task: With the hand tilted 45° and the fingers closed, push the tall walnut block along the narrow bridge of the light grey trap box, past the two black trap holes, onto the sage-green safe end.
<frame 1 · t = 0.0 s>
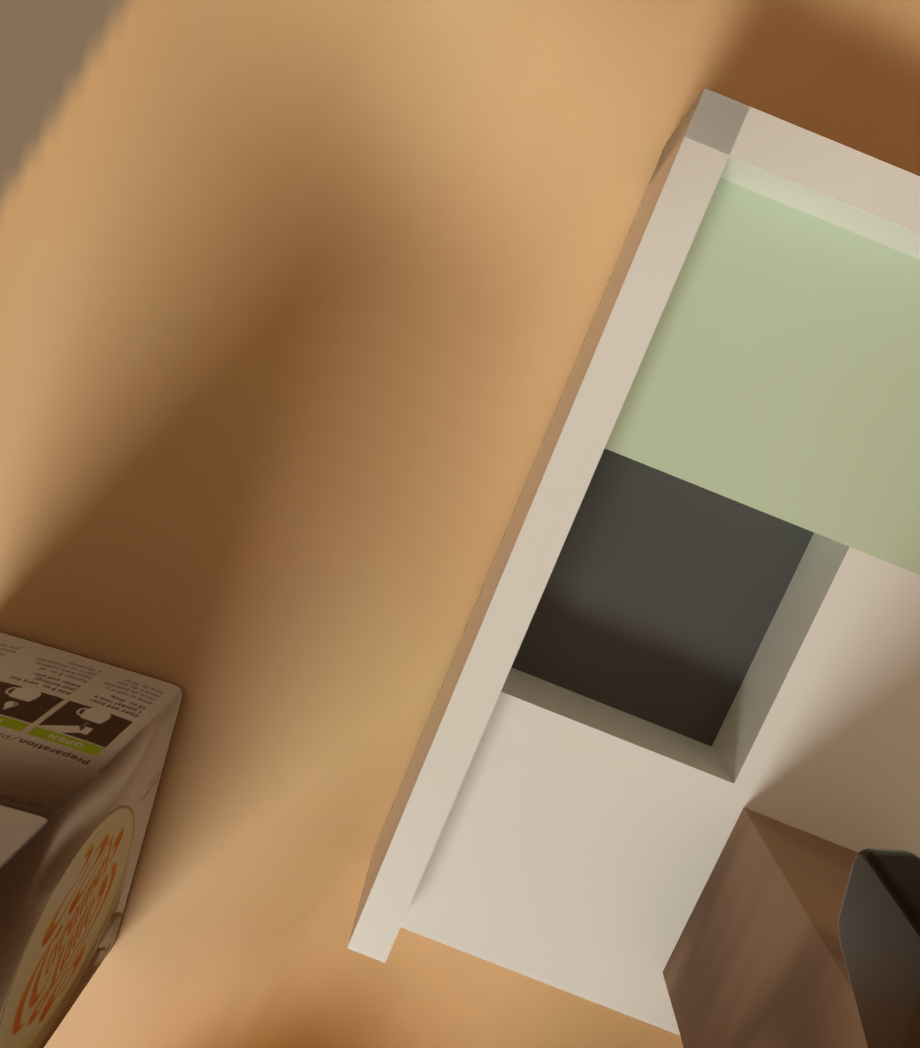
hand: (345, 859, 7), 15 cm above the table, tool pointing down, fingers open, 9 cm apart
trap box: (863, 670, 23), on the table
block: (792, 926, 21), point 2 cm above the table, touching trap box
coffee box: (52, 792, 25), on the table
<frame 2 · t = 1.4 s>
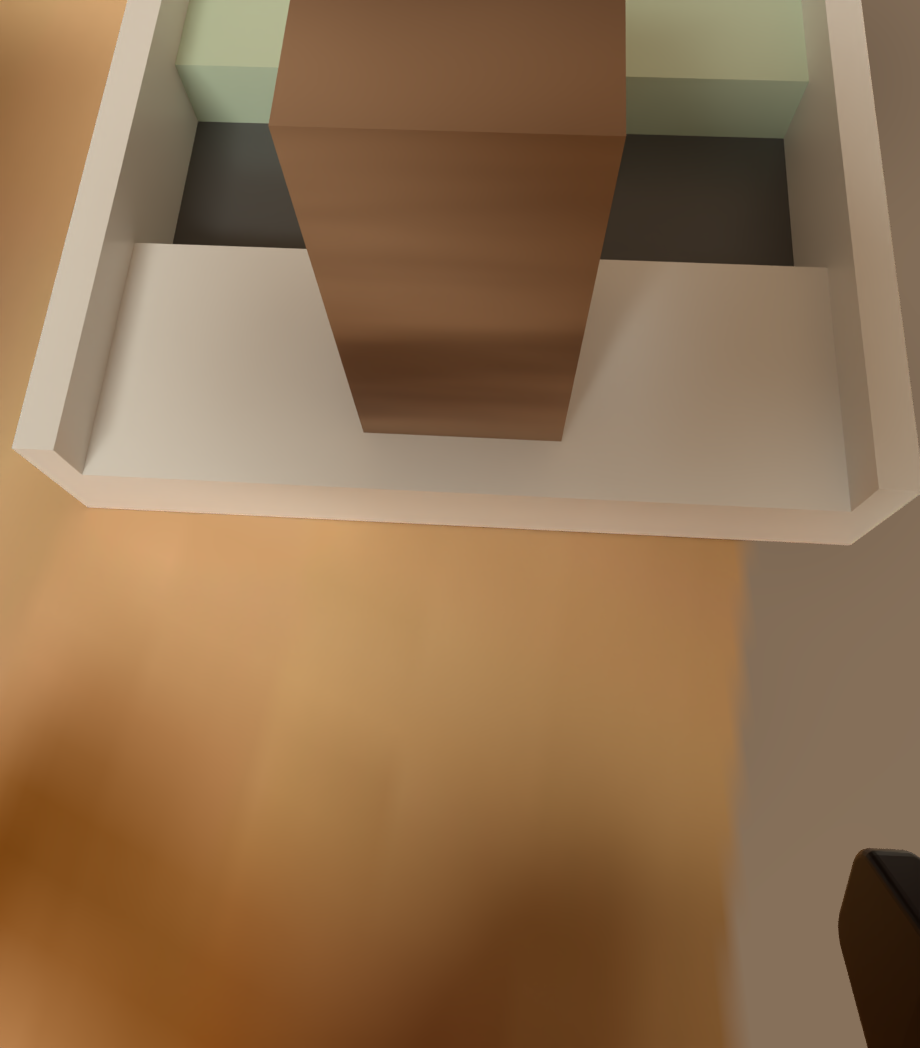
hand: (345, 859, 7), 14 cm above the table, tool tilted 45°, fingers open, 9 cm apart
trap box: (481, 212, 26), on the table
block: (467, 350, 22), point 2 cm above the table, touching trap box
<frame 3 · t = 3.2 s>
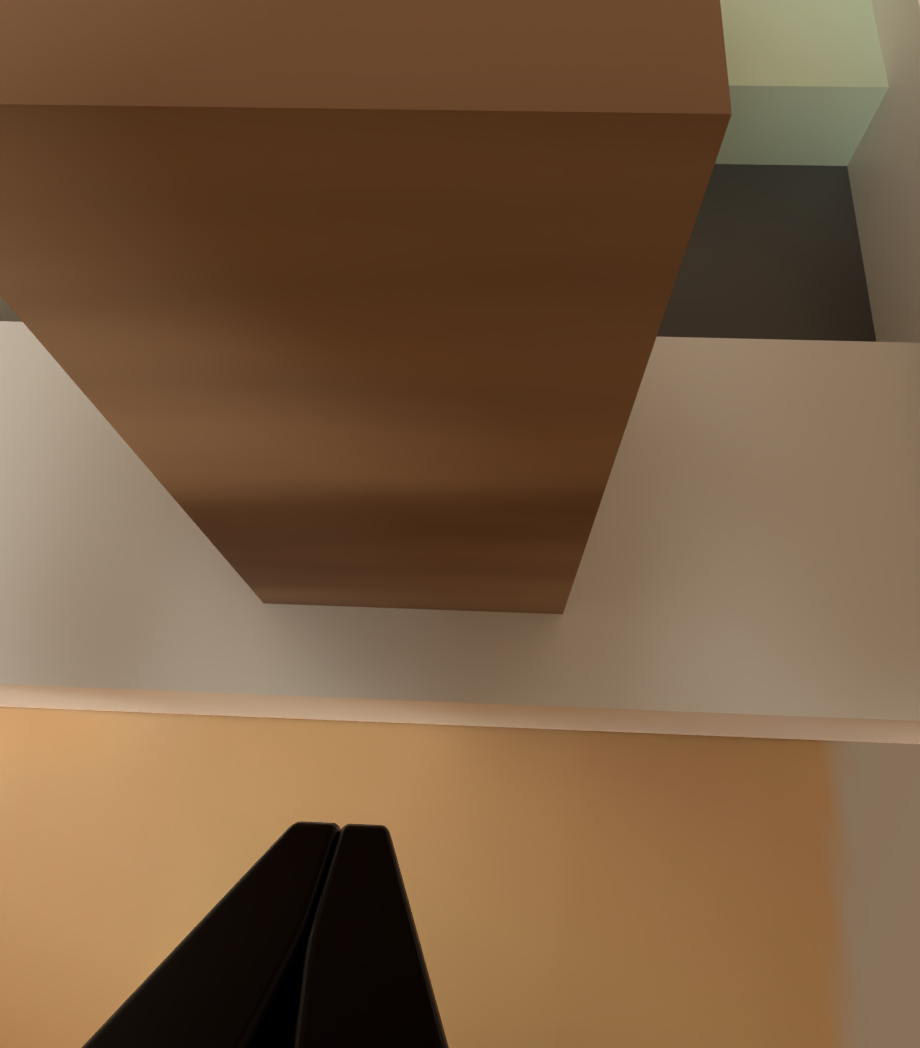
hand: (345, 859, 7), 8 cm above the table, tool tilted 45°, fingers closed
trap box: (446, 267, 20), on the table
block: (421, 472, 15), point 2 cm above the table, touching trap box
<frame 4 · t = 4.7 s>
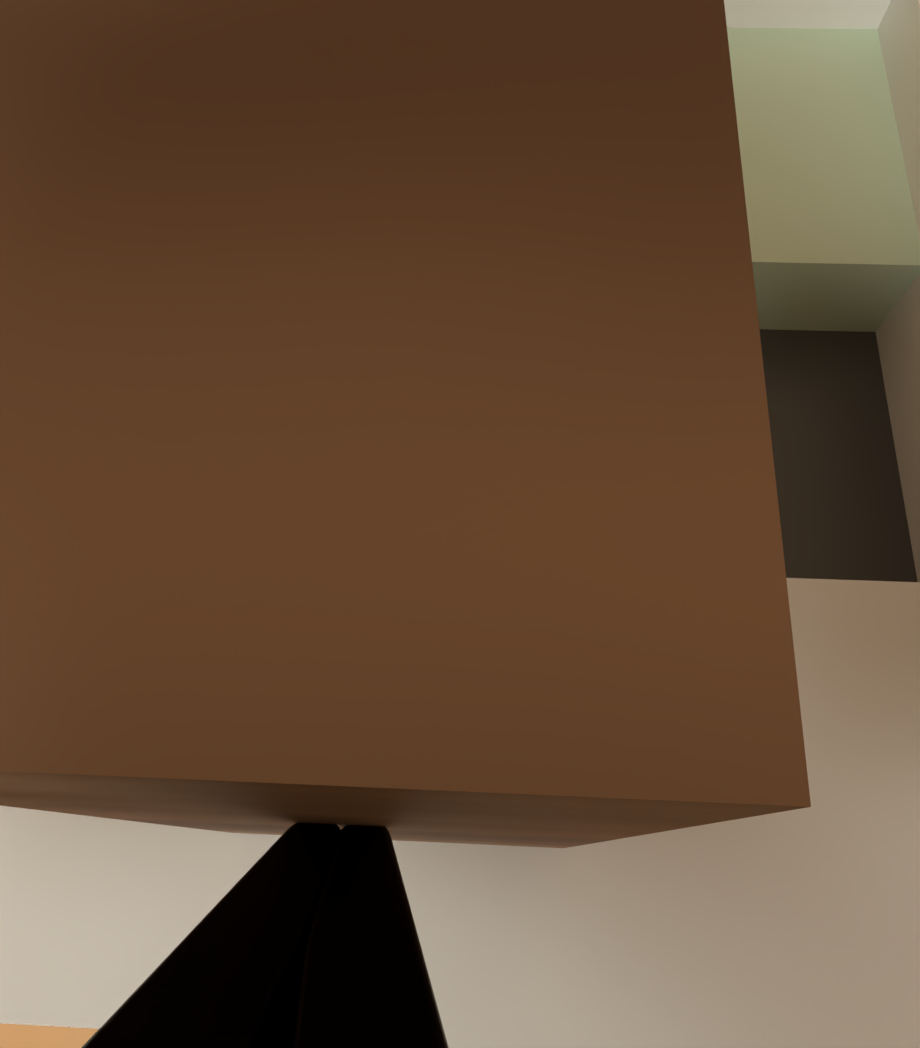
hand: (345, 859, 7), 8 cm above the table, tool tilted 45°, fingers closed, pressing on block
trap box: (434, 448, 18), on the table
block: (407, 674, 13), point 3 cm above the table, touching gripper
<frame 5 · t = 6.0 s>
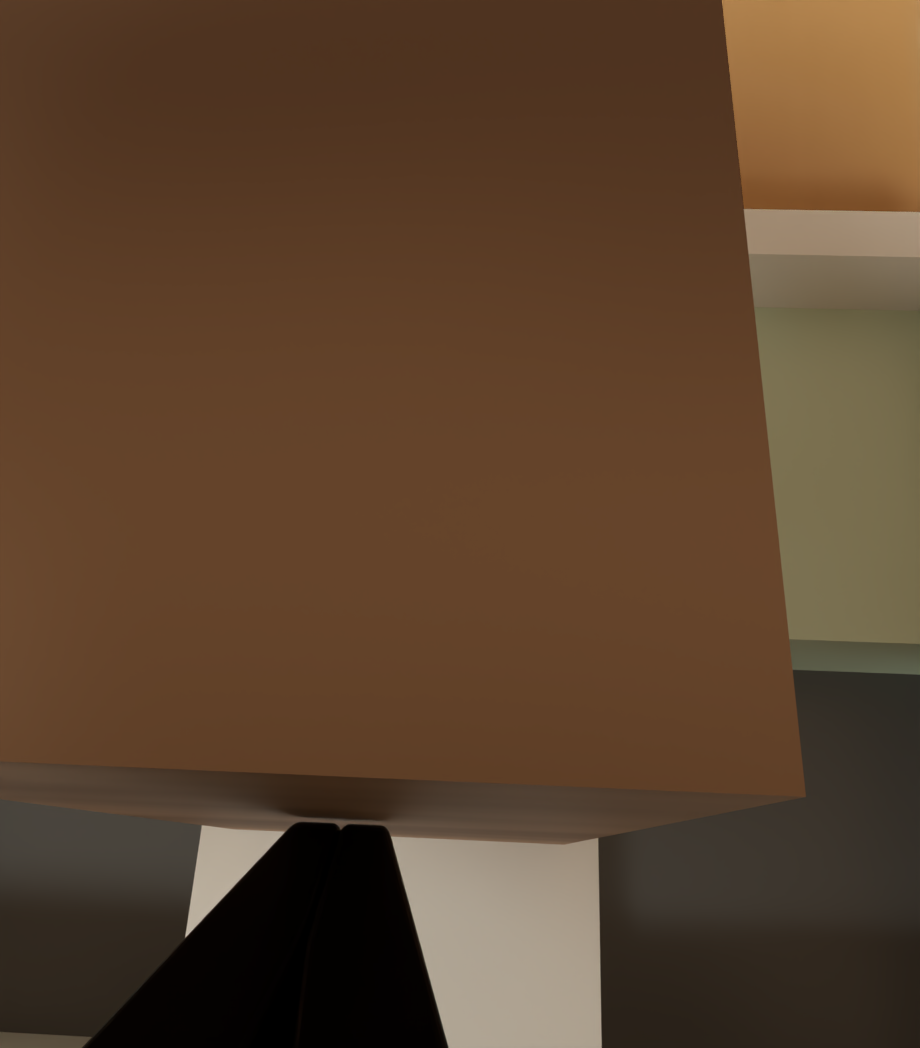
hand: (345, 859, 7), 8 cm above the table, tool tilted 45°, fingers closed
trap box: (412, 823, 15), on the table
block: (408, 672, 13), point 3 cm above the table
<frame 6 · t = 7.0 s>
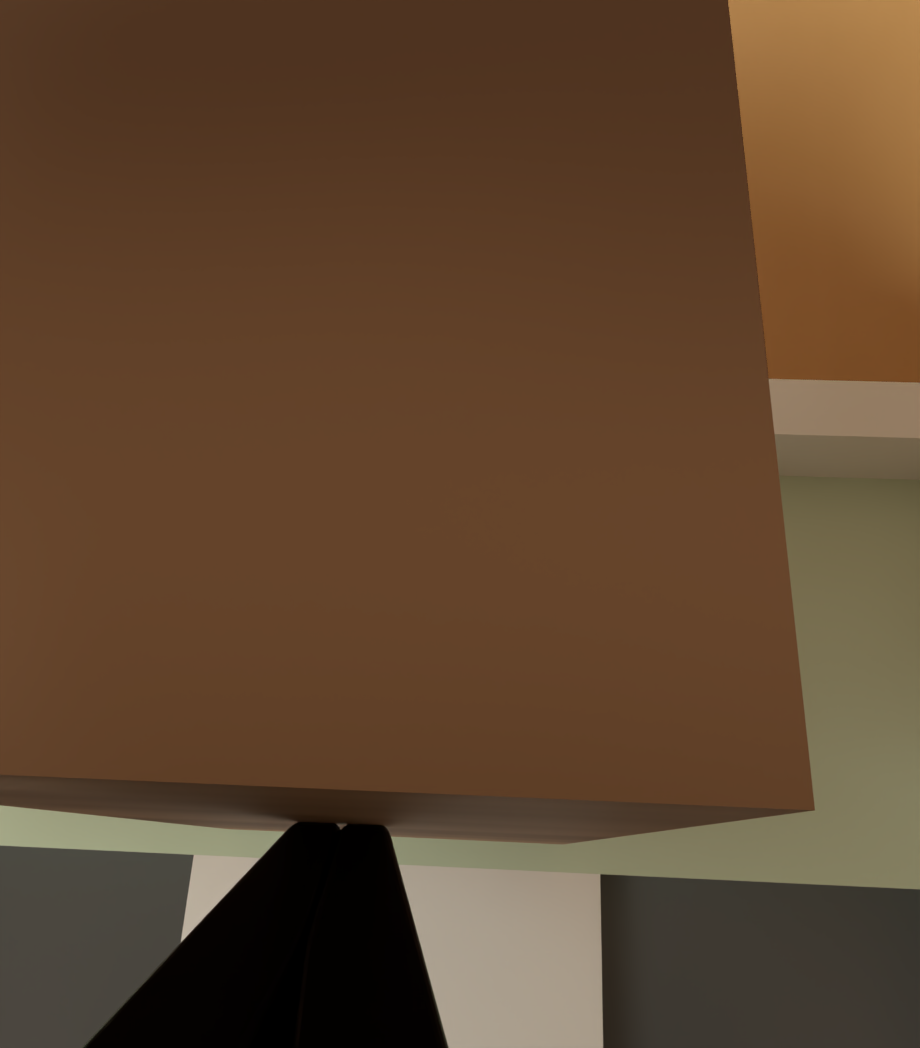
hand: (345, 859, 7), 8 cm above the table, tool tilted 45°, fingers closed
block: (405, 669, 13), point 2 cm above the table, touching trap box
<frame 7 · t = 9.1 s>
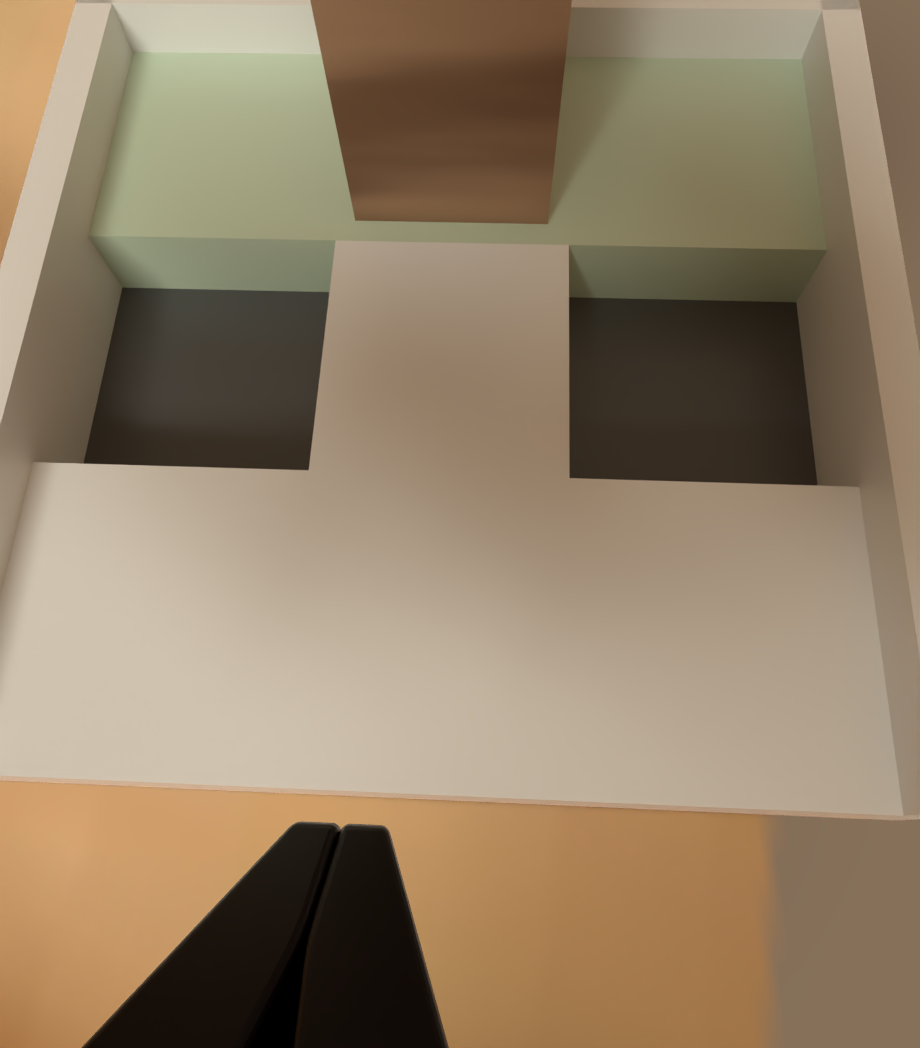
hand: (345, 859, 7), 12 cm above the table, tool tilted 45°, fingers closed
trap box: (449, 394, 23), on the table
block: (455, 147, 23), point 2 cm above the table, touching trap box
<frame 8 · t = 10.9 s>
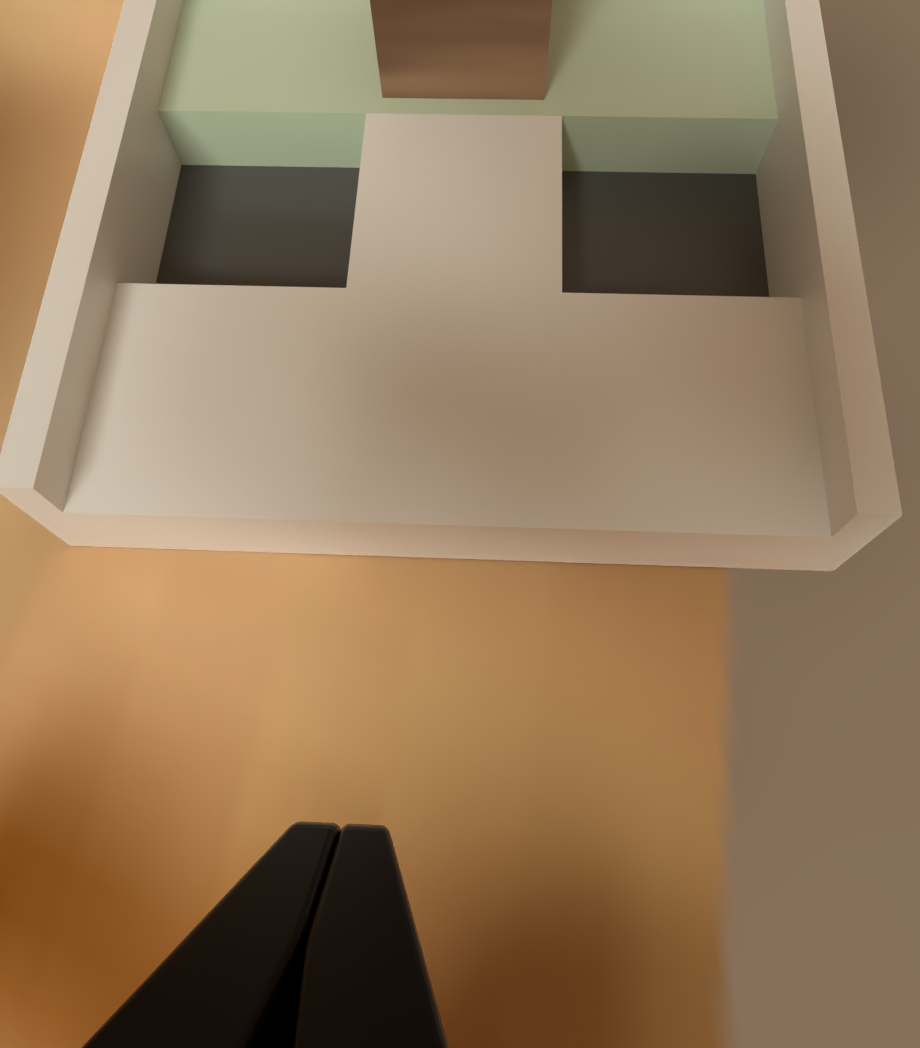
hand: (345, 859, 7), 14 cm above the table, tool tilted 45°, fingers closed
trap box: (461, 248, 27), on the table
block: (466, 40, 27), point 2 cm above the table, touching trap box
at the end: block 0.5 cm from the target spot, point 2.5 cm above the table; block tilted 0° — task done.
